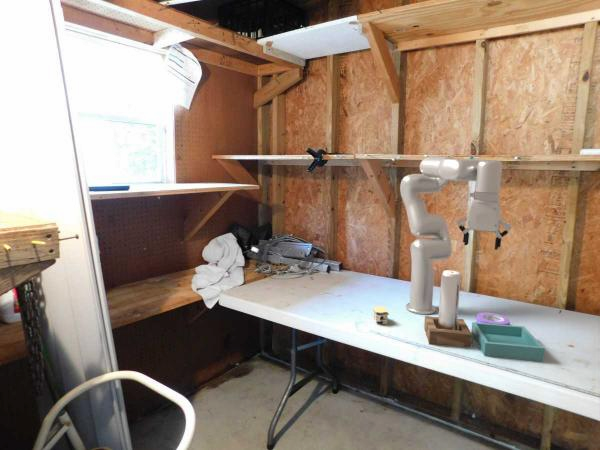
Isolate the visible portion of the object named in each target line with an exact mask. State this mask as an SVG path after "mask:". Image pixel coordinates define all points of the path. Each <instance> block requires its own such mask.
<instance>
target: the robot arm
mask: <svg viewBox="0 0 600 450" xmlns="http://www.w3.org/2000/svg"><path fill="white" fill-rule="evenodd" d="M419 171H420V173H412V174H407V175H406V176H404V177H403V178H402V179H401V182H400V186H399V189H400V190H399V191H400V196H401V199H402V202H403V204H404V206H405V210H406V216H407V220H408V226H409V230H410V232H411V234H412V236H415V237H428V238H417V239H415V240H414V241H412V243H411V244H410V247H409V248H410V249H409V250H410V256H411V257H410V258H411V259H410V260H411V276H410V294H409V295H410V296H409V302H407V303H406V304H405V309H406V310H407V311H409V312H411V313H414V314H419V315H431V314H434V313H436V309H437V308H436V307H435V306H434V305H433V299H434V285H435V284H434V283H435V269H434V266H433V265H432V263H431V261H442V260H448V259H449V258H450V257H451V256H452V251H453V250H452V247H453V246H452V243H451V237H450V233H449V229H448V224H447V222H446V220H445V218H444V217H443V216H442V215H439V214H429V213H428V210H427V205H426V203H425V201H424V200H423V199H422V197H421V196H419V195H418V194H437V193H439V192H440V191H441V190H442V189H443V188H445V186H446V185H447V183H448V182H449V181H454V182H457V181H458V182H463V181H464V182H465V181H467V182H469V181H470V182H475V187H474V188H475V189H474V191H473V192H469V198H473V200H471V201H470V203H469V207H468V212H467V216H465V217H462V218H459V219H457V220H456V223H457V226H458V229H459V231H461V232H462V234H463V237H462V242H463V243H464V246H467V245H469V241H470V240H469V239H470V231H477V232H478V231H479V232H486V233H494V234H495V235H496V237H495V241H494V250H496V251H497V250H498V249H499V248H501V245H502V244H501V243H502V238H503V237H505V236H506V235H507V234H508V233H509V232H510V231H511V229H513V226H512V225H511V224H510V223H508V222H506V221H505V220H502V207H501V204H502V203H501V202H500V201H499V200H500V199H499V198H500V190H501V183H502V182H501V181H502V173H503V172H502V171H503V163H502V162H501V161H499V160H486V159H474V158H472V159H471V158H463V159H462V158H453V157H452V156H451V157H450V156H427V157H425V158H423V159H422V160H421V162H420V163H419ZM463 222H466V227H465V226H464V225H463ZM501 226H504V228H505V229H504V230H503V231H502V232H501V230H500V228H501ZM431 237H432V238H431Z"/></svg>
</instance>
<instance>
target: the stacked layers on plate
mask: <svg viewBox="0 0 600 450" xmlns="http://www.w3.org/2000/svg"><path fill="white" fill-rule="evenodd" d="M372 311H373V313H372V317H373V320H374V321H375V322H376V323H378V322H382V324H384V325H387V324H388V320H389V318H388V316H389V309H388V308H386V307H384V306H382V305H380V306H373V309H372ZM386 323H387V324H386Z"/></svg>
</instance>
